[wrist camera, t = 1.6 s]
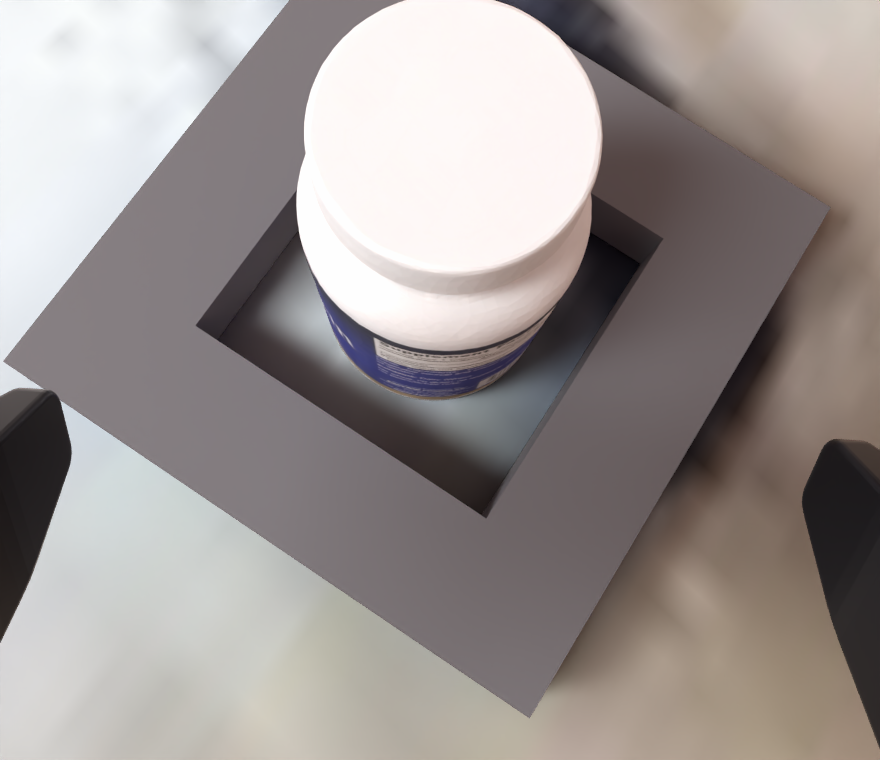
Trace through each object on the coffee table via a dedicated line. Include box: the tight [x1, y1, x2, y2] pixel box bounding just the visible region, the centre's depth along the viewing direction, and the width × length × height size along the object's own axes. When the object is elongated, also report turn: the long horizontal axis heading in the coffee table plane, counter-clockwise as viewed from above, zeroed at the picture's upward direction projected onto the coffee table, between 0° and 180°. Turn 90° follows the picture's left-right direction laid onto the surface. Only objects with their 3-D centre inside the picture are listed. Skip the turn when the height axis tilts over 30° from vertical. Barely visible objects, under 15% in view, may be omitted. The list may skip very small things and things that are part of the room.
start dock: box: [3, 0, 831, 718], centre depth 21 cm, size 15×15×2 cm
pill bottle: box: [296, 0, 603, 401], centre depth 17 cm, size 6×6×10 cm
